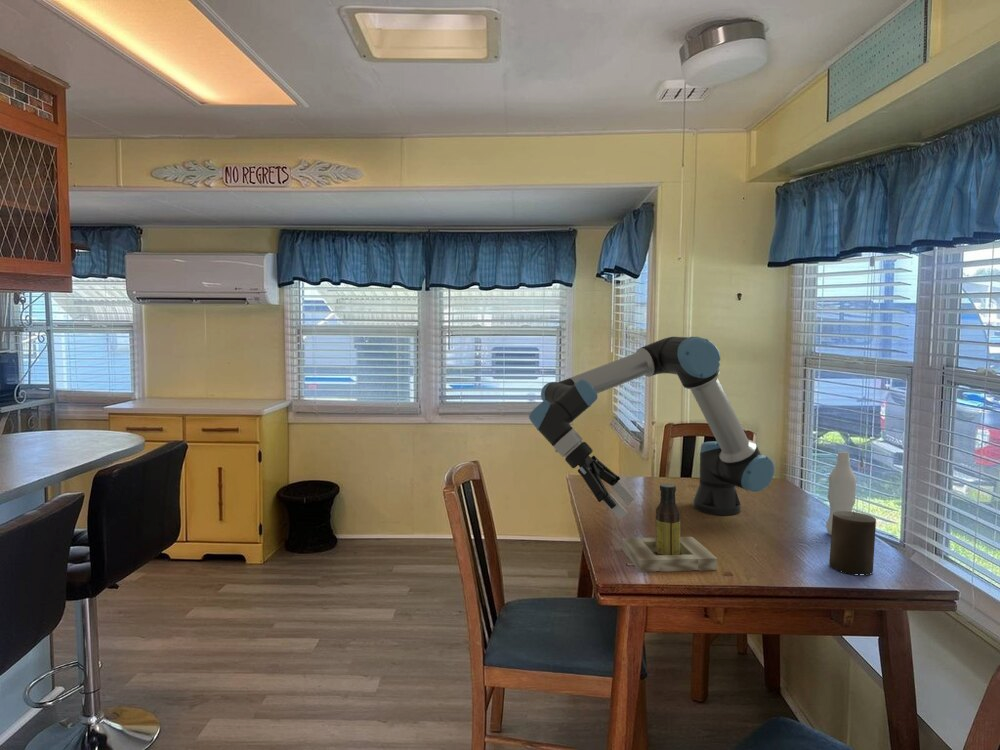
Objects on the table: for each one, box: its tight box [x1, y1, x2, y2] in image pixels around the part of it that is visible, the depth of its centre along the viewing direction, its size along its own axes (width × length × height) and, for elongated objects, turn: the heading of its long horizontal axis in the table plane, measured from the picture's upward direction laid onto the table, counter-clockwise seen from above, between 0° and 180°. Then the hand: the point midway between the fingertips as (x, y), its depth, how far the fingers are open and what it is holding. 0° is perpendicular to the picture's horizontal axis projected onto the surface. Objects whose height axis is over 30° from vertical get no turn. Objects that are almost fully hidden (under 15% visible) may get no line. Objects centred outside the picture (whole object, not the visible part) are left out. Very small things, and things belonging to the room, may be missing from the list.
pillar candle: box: [828, 510, 877, 576], centre depth 155 cm, size 10×10×15 cm
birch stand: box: [621, 536, 718, 573], centre depth 160 cm, size 20×16×3 cm
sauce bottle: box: [655, 483, 681, 555], centre depth 160 cm, size 6×6×20 cm
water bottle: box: [825, 450, 857, 536], centre depth 179 cm, size 7×7×25 cm
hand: (627, 508), depth 163 cm, fingers open, 13 cm apart
